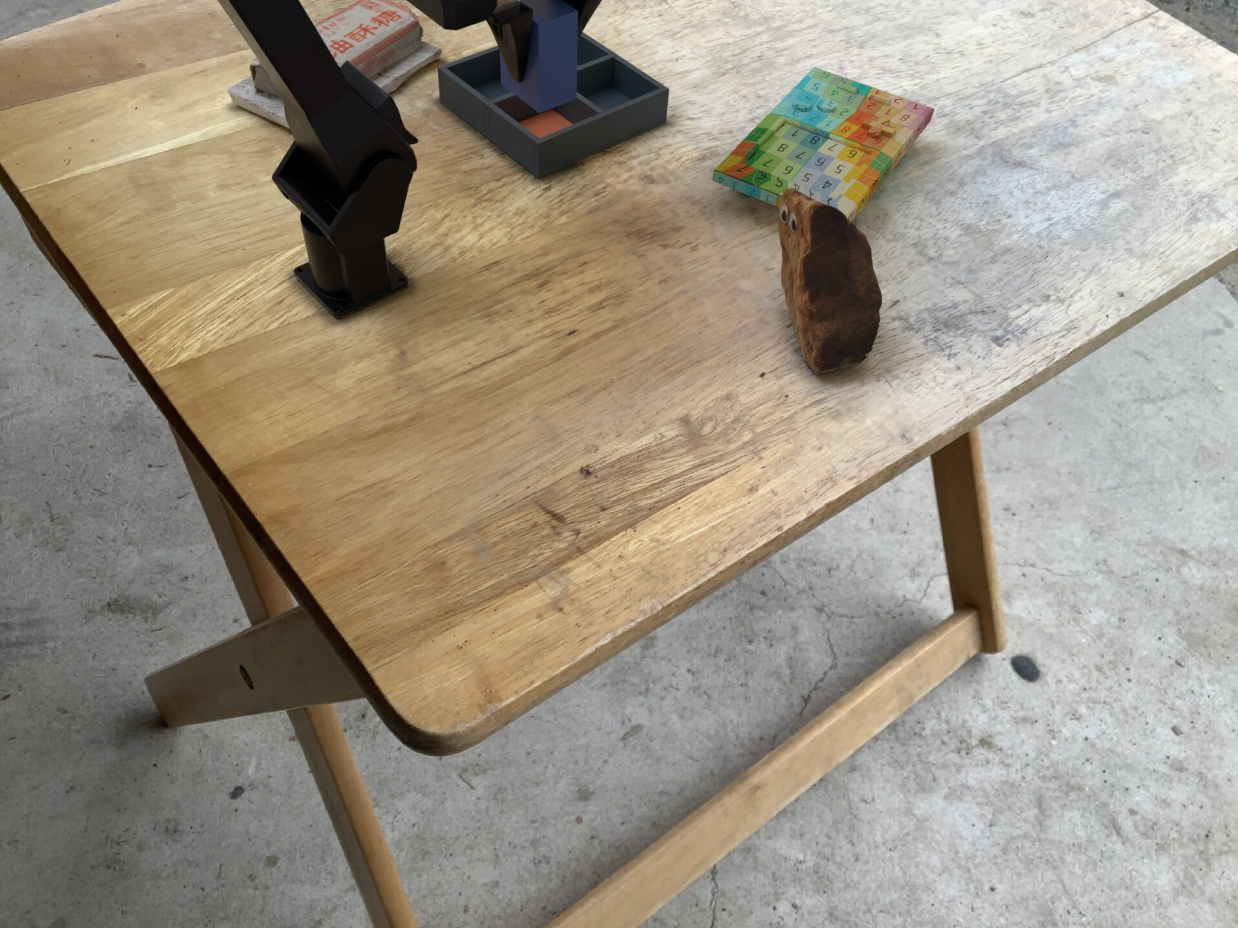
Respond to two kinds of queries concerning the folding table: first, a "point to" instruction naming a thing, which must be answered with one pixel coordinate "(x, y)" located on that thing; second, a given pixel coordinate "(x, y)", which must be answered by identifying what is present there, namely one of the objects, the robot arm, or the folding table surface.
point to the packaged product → (351, 53)
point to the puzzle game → (825, 143)
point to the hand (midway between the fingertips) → (537, 72)
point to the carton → (548, 57)
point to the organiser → (546, 142)
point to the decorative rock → (827, 283)
